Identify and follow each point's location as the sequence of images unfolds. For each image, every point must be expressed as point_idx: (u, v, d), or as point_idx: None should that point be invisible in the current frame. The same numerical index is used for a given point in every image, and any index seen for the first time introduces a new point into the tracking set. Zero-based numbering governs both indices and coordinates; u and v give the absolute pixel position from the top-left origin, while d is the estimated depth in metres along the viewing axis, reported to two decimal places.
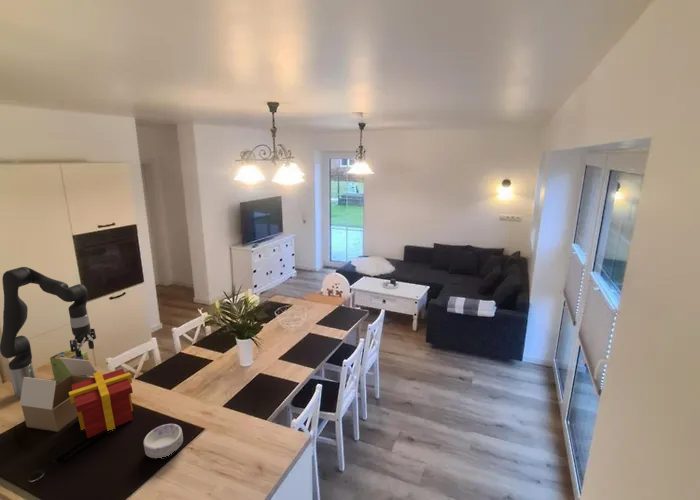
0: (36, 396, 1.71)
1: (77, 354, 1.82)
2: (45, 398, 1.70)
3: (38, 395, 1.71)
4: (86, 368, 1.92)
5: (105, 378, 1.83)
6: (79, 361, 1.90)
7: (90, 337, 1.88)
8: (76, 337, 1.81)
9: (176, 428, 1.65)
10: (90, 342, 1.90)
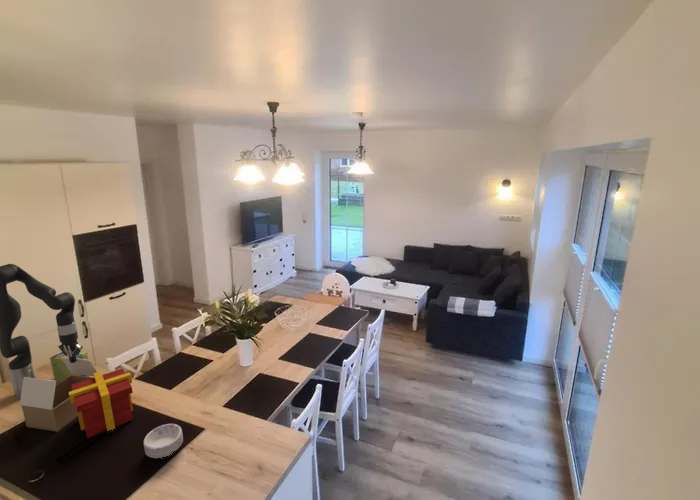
0: (36, 396, 1.71)
1: (75, 358, 1.89)
2: (45, 398, 1.70)
3: (38, 395, 1.71)
4: (87, 367, 1.92)
5: (105, 378, 1.83)
6: (80, 360, 1.90)
7: None
8: (75, 342, 1.86)
9: (176, 428, 1.65)
10: None
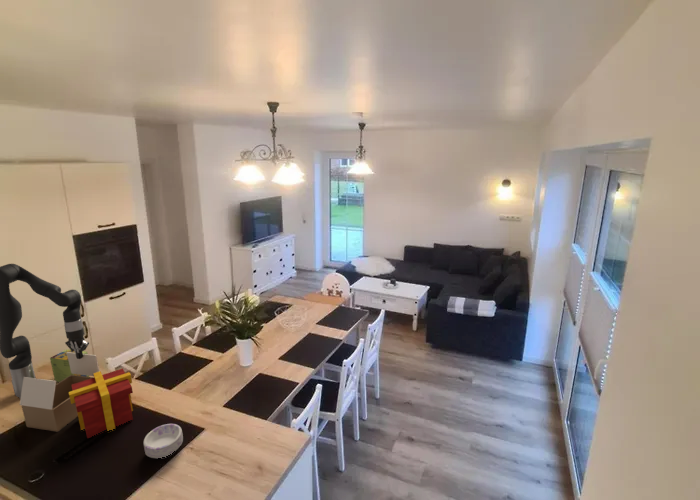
0: (36, 396, 1.71)
1: (81, 354, 1.92)
2: (45, 398, 1.70)
3: (38, 395, 1.71)
4: (90, 365, 1.94)
5: (105, 378, 1.83)
6: (85, 356, 1.93)
7: None
8: (82, 338, 1.90)
9: (176, 428, 1.65)
10: None
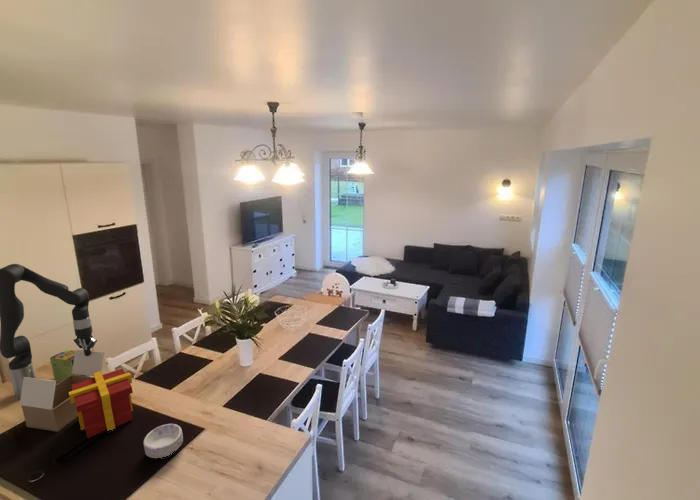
0: (36, 396, 1.71)
1: (89, 351, 1.97)
2: (45, 398, 1.70)
3: (38, 395, 1.71)
4: (95, 363, 1.97)
5: (105, 378, 1.83)
6: (93, 353, 1.98)
7: None
8: (90, 335, 1.94)
9: (176, 428, 1.65)
10: None
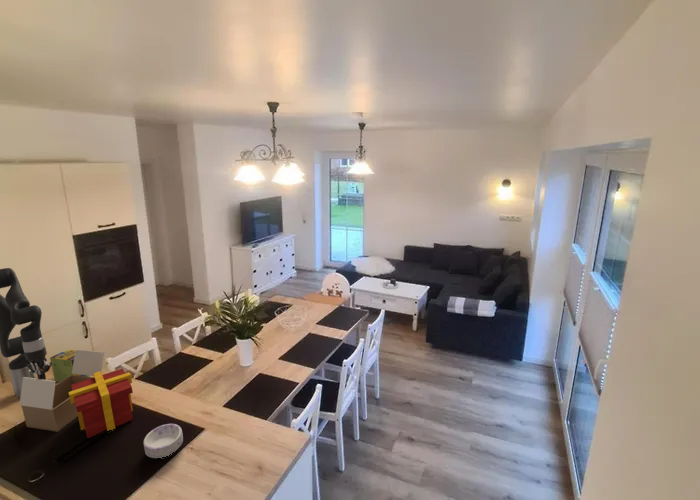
0: (36, 396, 1.71)
1: (44, 376, 1.73)
2: (45, 398, 1.70)
3: (38, 395, 1.71)
4: (95, 363, 1.97)
5: (105, 378, 1.83)
6: (93, 353, 1.98)
7: None
8: (44, 359, 1.70)
9: (176, 428, 1.65)
10: None
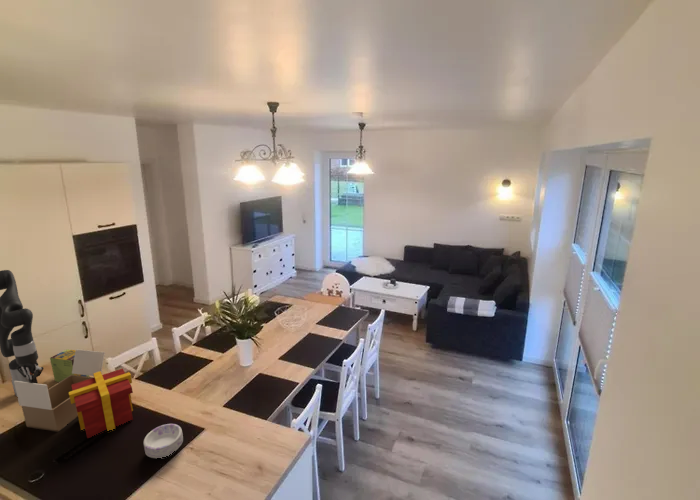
0: (32, 398, 1.70)
1: (35, 381, 1.69)
2: (42, 400, 1.69)
3: (34, 397, 1.70)
4: (95, 363, 1.97)
5: (105, 378, 1.83)
6: (93, 353, 1.98)
7: None
8: (35, 363, 1.66)
9: (176, 428, 1.65)
10: None
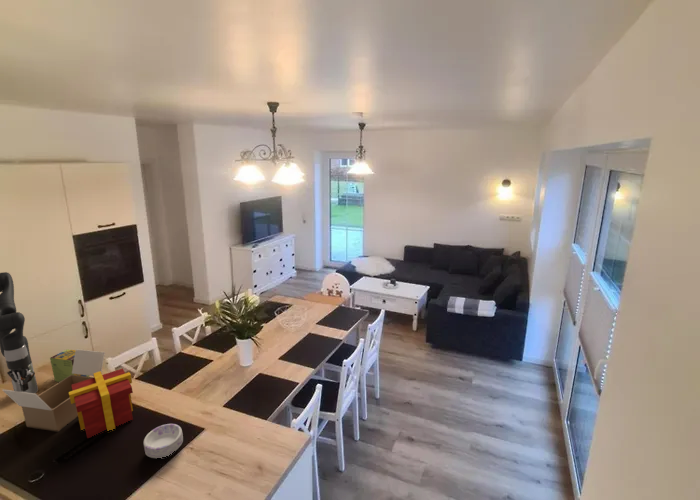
0: (28, 402, 1.68)
1: (27, 386, 1.66)
2: (38, 404, 1.67)
3: (29, 402, 1.68)
4: (95, 363, 1.97)
5: (105, 378, 1.83)
6: (93, 353, 1.98)
7: None
8: (26, 368, 1.63)
9: (176, 428, 1.65)
10: None
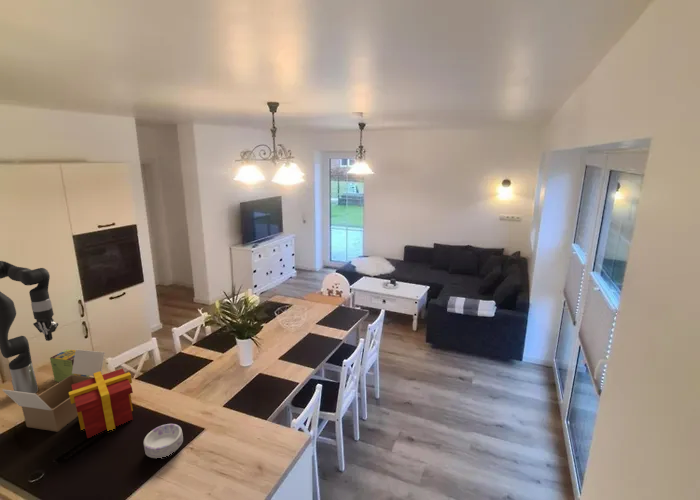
0: (28, 402, 1.68)
1: (51, 336, 1.84)
2: (38, 404, 1.67)
3: (29, 402, 1.68)
4: (95, 363, 1.97)
5: (105, 378, 1.83)
6: (93, 353, 1.98)
7: None
8: (51, 319, 1.81)
9: (176, 428, 1.65)
10: None
